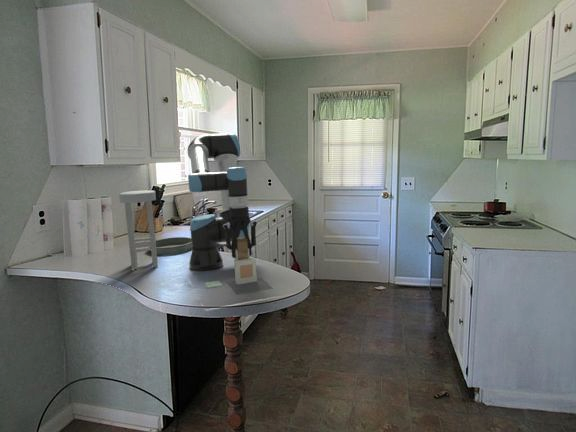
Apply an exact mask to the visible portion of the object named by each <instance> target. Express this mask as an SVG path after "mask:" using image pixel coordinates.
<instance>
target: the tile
mask: <svg viewBox="0 0 576 432" xmlns="http://www.w3.org/2000/svg"><path fill="white" fill-rule="evenodd" d="M233 262H234V263H233V264H234V265H233V266H234V277H235V279H234V281H236V284H237V285H238V284H244V283H250V282H256V281H257V278H258V277H257V259H256V258H254V257H250V258H249V259H242V260H235V259H234V261H233Z"/></svg>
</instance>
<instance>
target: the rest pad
mask: <svg viewBox="0 0 576 432" xmlns="http://www.w3.org/2000/svg"><path fill="white" fill-rule="evenodd" d="M203 284H204V286H205V288H206V290H207V289H214V288H220V287H223V283H222V282H221V281H220V280H215V281H207V282H204V283H203Z"/></svg>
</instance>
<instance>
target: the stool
mask: <svg viewBox="0 0 576 432" xmlns="http://www.w3.org/2000/svg"><path fill="white" fill-rule="evenodd" d="M156 196H157V195H156V190H151V189H150V190H148V189H147V190H144V189H143V190H132V191H123V192H121V193H119V203H122V204H124V210H125V218H126V219H125V220H126V221H125V222H126V226H127V227H126V228H127V229H126V230H127V236H128V246H129V247H128V248H129V255H130V265H131V270H132V269H137V270H138V265H137V264H138V262H139V261H138V253H139V252H140V253H141V252H149V251H150V252H151V261H152V268H153V267H156V268H159V265H158V254H157V251H156V241H155V240H156V232H155V223H154V222H155V221H154V214H153V213H154V212H153V205H152V203H153V202H152V201H156V200H157V197H156ZM134 203H135V204H137V203H146V211H147V220H148V221H147V222H148V232H149V237H142V238H141V237H140V238H139V237H138V238H136V236H135V227H134V226H135V225H134V217H133V207H132V204H134ZM150 246H151V248H149V247H150Z"/></svg>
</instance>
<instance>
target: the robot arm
mask: <svg viewBox="0 0 576 432" xmlns="http://www.w3.org/2000/svg"><path fill="white" fill-rule="evenodd" d="M239 141H240V140H239V138H238V136H237V134H235V133H232V132H231V133H228V132H226V133H205V134H201V135H198V136H196V137H194V138H193V140H192V141H190V143H189V145H188V146H187V157H188V158H189V159H190V164H191V173H190V174H188V175H187V179H188V190H189V192H190V193H204V192H206V193H207V192H220V198H221V206H222V207H221V208H222V211H220V213H219V216H218V217H217V216H216V214H213V213H212V214H204V215H200V216H199V215H198V216H196V217H193V218H192V219H191V220H190V223H189V224H190V225H189V231H190V238H191V242H192V247H191V254H190V259H189V262H188V263H189V264H188V265H189V269H190V270H192V271H200V272H201V271H202V272H203V271H212V270H217V269H219V268H221V267H223V265H224V260H223V257H222V255H221V252H220V250H219V244H218V243H220V242H226V246H227V247H226V246H225V247H226V248H227V249H228V250H231V257H232V258H233V259H234V261H235V260H238V250H237V249H236V242H237V238H239V237H245V238H247V245H248V259H249V258H251V257H250V256H253V255H252V253H253V251H252V250H253V247H255V246H256V245H257V242H256V241H257V240H256V232H257V231H256V227H257V224H258V223H257V221H256V220H251V218H250V213H249V212H250V210H249V207H248V205H249V195H248V182H247V181H248V175H247V168H246V167H244V166H237V164H236V163H237V162H238V160H239V157H241V155H242V153H241V144H240V142H239ZM209 159H213V162H214V163H215V164H217V171H218V172H217V171H216V172H215V171H214V172H211V168H210V164H209ZM249 232H250V235H249ZM231 243H232V244H231Z"/></svg>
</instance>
